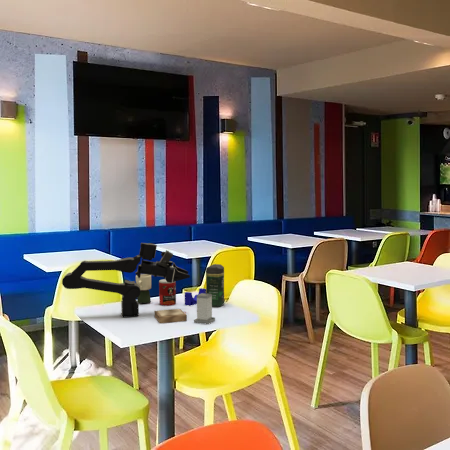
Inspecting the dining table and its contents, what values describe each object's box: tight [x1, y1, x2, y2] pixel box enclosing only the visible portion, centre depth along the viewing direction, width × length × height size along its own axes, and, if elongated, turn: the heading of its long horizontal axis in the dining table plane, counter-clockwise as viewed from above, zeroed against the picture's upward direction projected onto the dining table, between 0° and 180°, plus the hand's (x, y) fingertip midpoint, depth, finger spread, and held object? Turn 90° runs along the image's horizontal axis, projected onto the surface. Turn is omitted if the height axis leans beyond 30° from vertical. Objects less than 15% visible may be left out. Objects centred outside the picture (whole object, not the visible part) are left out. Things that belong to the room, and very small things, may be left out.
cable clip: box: [184, 287, 206, 307], centre depth 252 cm, size 12×4×6 cm, turn 144°
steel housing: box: [193, 293, 216, 325], centre depth 217 cm, size 6×6×11 cm
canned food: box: [158, 278, 177, 307], centre depth 250 cm, size 8×8×11 cm
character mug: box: [135, 274, 152, 304], centre depth 253 cm, size 11×7×13 cm, turn 166°
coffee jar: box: [205, 263, 225, 308], centre depth 247 cm, size 10×8×19 cm
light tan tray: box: [154, 308, 188, 324], centre depth 222 cm, size 11×11×3 cm
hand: (189, 274), depth 232 cm, fingers open, 9 cm apart
